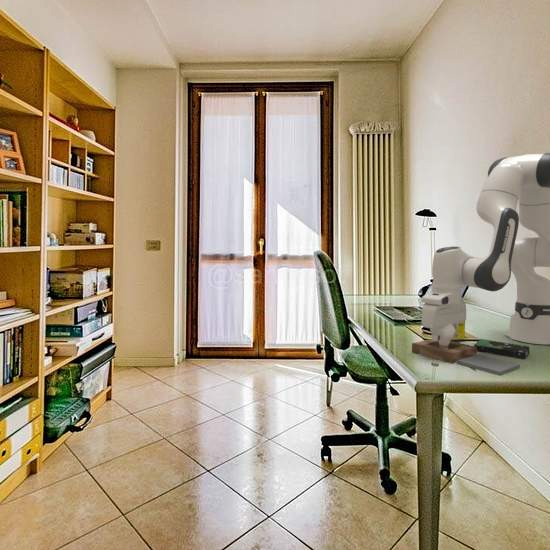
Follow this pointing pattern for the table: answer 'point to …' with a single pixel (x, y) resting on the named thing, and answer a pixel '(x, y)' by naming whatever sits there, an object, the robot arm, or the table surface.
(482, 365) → the mat
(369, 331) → the table surface
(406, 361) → the table surface
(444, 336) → the lightbulb
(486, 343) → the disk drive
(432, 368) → the table surface
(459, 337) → the supplement box
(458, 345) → the holder
